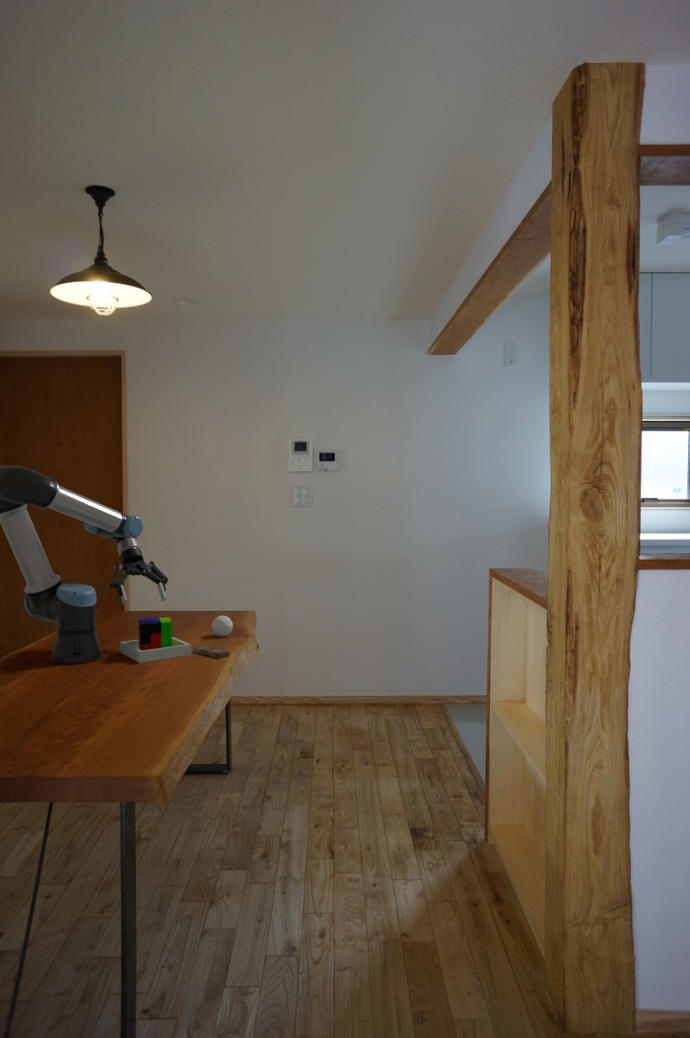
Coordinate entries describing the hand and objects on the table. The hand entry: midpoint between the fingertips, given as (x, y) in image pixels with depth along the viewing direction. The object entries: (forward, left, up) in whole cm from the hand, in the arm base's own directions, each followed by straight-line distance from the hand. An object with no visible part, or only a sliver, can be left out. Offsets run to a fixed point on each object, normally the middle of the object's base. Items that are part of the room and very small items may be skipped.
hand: (145, 601), depth 229 cm
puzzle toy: (-5, -8, -16) cm, 18 cm away
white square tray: (-5, -8, -16) cm, 19 cm away
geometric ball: (+28, -13, -17) cm, 35 cm away
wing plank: (+2, -25, -17) cm, 30 cm away
